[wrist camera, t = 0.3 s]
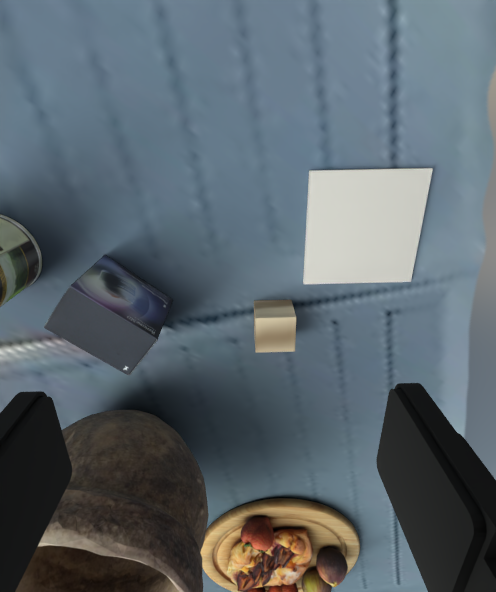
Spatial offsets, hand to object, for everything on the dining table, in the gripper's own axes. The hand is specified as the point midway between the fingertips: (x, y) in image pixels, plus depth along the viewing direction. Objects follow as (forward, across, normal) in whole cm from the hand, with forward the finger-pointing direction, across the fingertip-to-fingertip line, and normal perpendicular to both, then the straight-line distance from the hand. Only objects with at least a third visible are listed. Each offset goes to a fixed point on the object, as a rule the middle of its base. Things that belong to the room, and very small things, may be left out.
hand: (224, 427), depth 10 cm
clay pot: (+37, +17, +35) cm, 54 cm away
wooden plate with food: (+38, -7, +68) cm, 78 cm away
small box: (+36, +14, +11) cm, 40 cm away
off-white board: (+36, -16, +3) cm, 39 cm away
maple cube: (+36, -5, +15) cm, 39 cm away
